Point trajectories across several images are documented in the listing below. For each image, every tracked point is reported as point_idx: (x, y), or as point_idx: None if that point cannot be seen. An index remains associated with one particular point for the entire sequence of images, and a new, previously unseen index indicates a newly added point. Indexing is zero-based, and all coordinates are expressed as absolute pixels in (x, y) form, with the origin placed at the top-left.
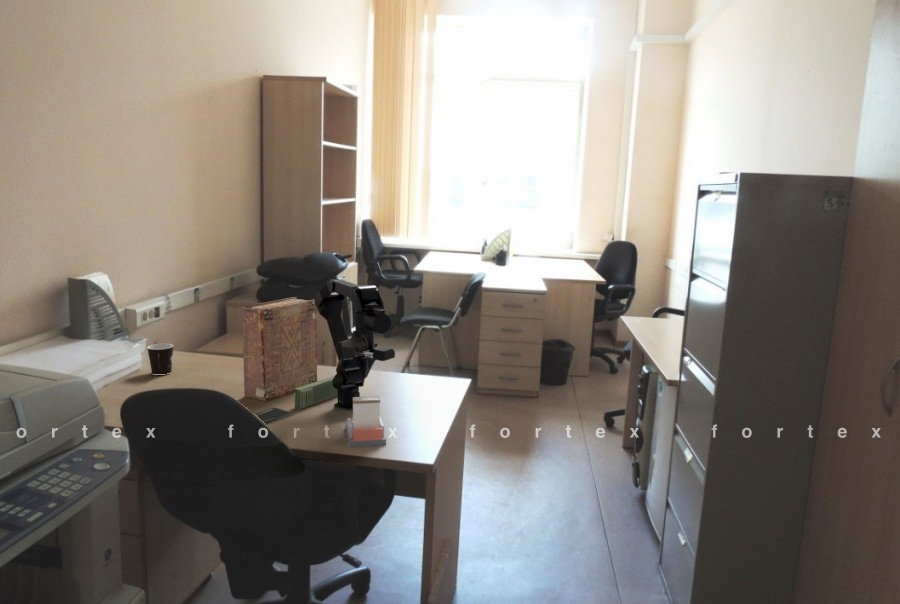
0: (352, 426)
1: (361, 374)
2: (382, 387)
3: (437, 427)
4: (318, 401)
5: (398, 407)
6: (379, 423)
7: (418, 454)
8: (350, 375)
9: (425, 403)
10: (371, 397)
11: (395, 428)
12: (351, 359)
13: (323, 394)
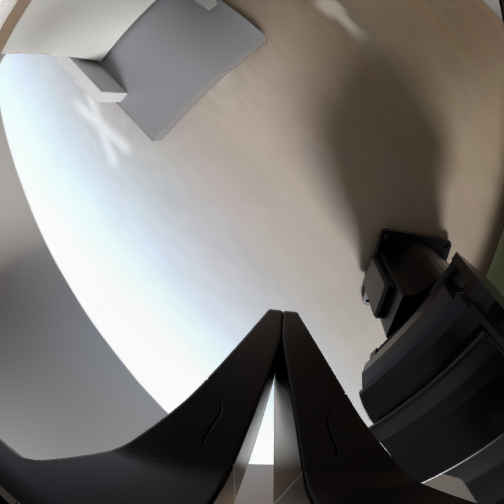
0: (211, 26)
1: (376, 387)
2: (361, 413)
3: (55, 239)
4: (498, 247)
5: (231, 330)
6: (82, 64)
7: (11, 76)
8: (439, 335)
9: (191, 374)
10: (3, 13)
11: (112, 159)
12: (468, 451)
13: (499, 279)
